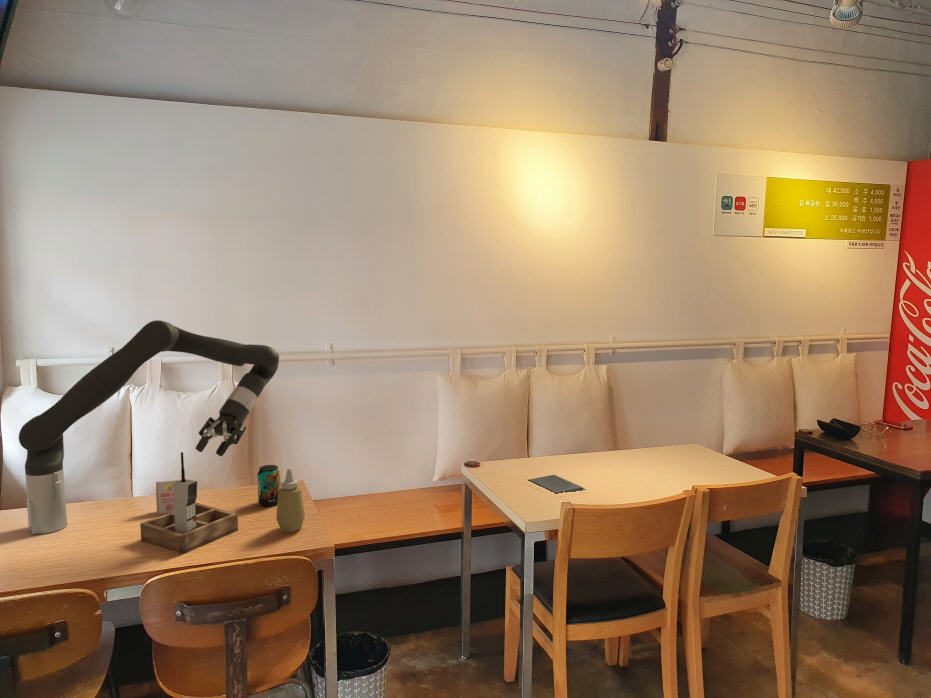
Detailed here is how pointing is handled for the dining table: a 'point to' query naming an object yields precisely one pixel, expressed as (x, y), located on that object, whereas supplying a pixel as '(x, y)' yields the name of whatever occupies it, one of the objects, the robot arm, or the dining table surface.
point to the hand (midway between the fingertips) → (208, 452)
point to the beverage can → (268, 485)
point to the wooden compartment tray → (208, 530)
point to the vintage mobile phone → (185, 503)
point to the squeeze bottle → (290, 504)
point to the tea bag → (165, 497)
